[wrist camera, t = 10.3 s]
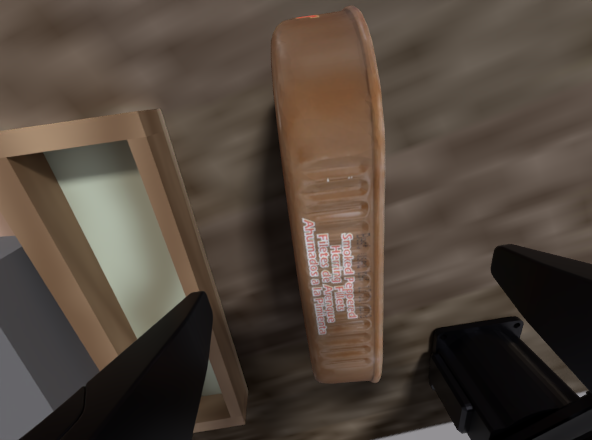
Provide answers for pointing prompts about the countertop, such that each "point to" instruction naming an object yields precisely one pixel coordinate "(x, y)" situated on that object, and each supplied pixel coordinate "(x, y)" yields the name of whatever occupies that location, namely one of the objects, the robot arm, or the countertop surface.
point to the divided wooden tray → (116, 239)
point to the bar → (34, 346)
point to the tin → (334, 186)
